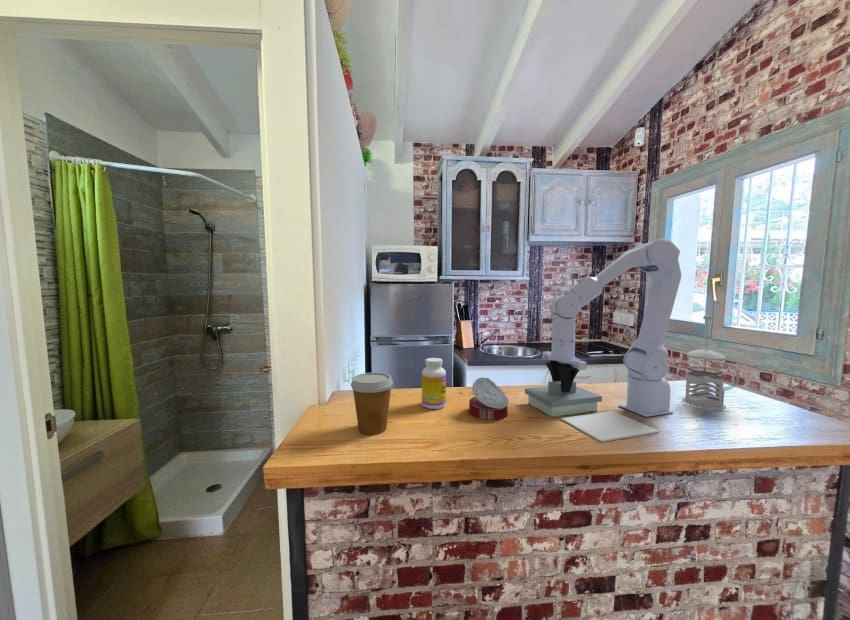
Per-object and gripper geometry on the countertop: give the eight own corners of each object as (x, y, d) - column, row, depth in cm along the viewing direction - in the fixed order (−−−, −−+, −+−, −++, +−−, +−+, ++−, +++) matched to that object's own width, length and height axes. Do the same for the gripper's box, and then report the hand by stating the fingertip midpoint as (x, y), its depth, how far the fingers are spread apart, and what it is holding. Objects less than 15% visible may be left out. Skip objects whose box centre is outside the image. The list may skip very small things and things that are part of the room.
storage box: (569, 398, 92) (569, 386, 91) (597, 410, 82) (597, 397, 82) (528, 403, 88) (528, 391, 87) (552, 416, 78) (552, 403, 78)
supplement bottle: (444, 410, 82) (444, 362, 81) (419, 409, 84) (419, 361, 83) (447, 402, 89) (447, 357, 88) (424, 400, 90) (424, 356, 89)
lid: (570, 388, 92) (570, 374, 92) (601, 401, 81) (602, 385, 81) (524, 393, 88) (525, 378, 88) (551, 407, 77) (552, 391, 77)
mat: (612, 412, 81) (612, 410, 81) (658, 432, 69) (658, 430, 69) (561, 419, 76) (561, 418, 76) (601, 442, 65) (601, 440, 65)
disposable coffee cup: (400, 423, 74) (399, 373, 74) (381, 441, 65) (381, 385, 65) (364, 418, 78) (364, 370, 77) (342, 434, 69) (341, 381, 68)
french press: (679, 395, 94) (683, 313, 92) (732, 403, 87) (737, 314, 86) (681, 405, 86) (686, 315, 84) (741, 415, 79) (746, 317, 78)
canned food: (496, 423, 85) (513, 391, 85) (502, 437, 75) (521, 400, 75) (459, 403, 87) (476, 371, 86) (460, 413, 76) (479, 377, 76)
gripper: (533, 337, 90) (532, 383, 90) (570, 345, 76) (569, 400, 76) (554, 336, 92) (553, 381, 92) (594, 344, 78) (592, 397, 78)
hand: (562, 390), depth 85 cm, fingers closed on lid, 2 cm apart
